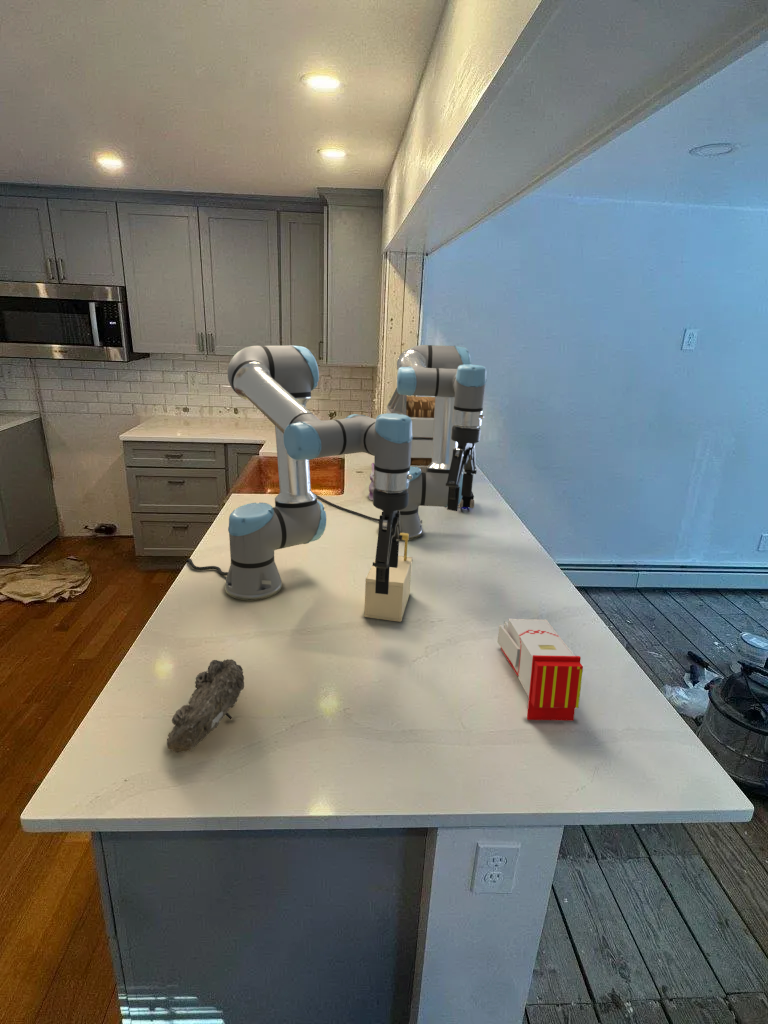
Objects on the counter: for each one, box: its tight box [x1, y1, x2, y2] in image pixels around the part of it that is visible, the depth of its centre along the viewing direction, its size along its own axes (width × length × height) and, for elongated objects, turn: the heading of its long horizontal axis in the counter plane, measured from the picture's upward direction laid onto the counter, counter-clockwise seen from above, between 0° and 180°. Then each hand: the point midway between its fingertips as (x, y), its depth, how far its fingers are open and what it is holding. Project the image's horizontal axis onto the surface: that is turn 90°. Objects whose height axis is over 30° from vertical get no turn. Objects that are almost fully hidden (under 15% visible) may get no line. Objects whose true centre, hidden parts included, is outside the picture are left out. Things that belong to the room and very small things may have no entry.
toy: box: [497, 618, 584, 722], centre depth 122 cm, size 12×13×30 cm
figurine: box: [367, 462, 375, 501], centre depth 234 cm, size 9×10×15 cm
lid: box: [365, 533, 413, 587], centre depth 147 cm, size 16×10×9 cm, turn 169°
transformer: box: [385, 387, 458, 467], centre depth 268 cm, size 34×33×41 cm
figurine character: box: [458, 492, 475, 513], centre depth 228 cm, size 7×8×15 cm
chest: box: [363, 563, 413, 623], centre depth 150 cm, size 15×10×10 cm, turn 169°
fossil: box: [166, 658, 245, 754], centre depth 106 cm, size 22×10×15 cm
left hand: (387, 579), depth 127 cm, fingers open, 13 cm apart
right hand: (459, 503), depth 155 cm, fingers open, 13 cm apart
